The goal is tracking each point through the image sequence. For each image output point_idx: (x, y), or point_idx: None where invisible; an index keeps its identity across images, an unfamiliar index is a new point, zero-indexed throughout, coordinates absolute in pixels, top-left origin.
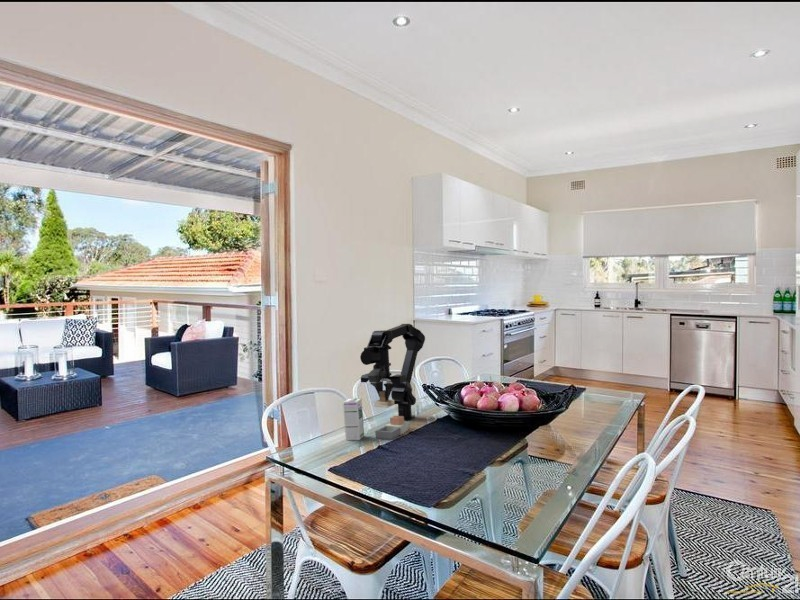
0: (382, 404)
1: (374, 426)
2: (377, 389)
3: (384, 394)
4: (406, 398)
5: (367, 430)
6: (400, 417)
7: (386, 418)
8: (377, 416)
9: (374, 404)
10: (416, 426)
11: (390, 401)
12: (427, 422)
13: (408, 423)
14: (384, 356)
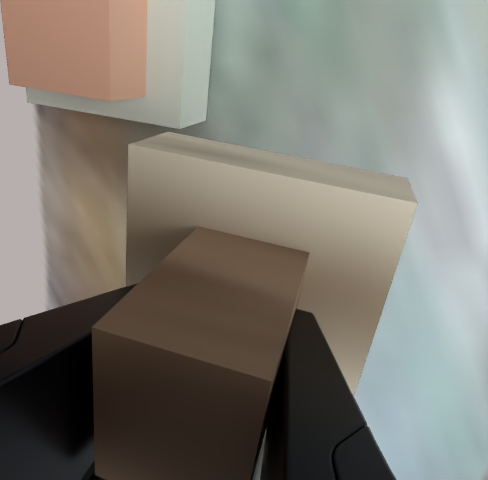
0: (231, 156)
1: (412, 170)
2: (337, 477)
3: (135, 293)
4: (86, 478)
5: (449, 7)
6: (14, 23)
7: (376, 407)
8: (475, 467)
9: (406, 187)
10: (70, 202)
11: (127, 261)
12: (52, 300)
13: (32, 93)
14: None
